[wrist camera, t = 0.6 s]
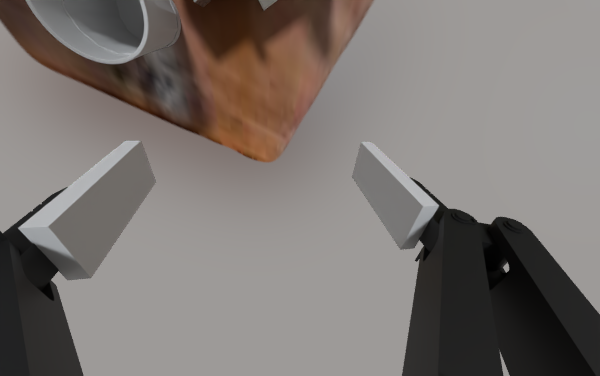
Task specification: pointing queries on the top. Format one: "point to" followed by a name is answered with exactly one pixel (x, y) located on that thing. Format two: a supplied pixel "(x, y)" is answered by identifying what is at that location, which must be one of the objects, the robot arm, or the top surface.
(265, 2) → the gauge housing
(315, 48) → the top surface
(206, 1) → the grey rectangular slab
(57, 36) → the cup
